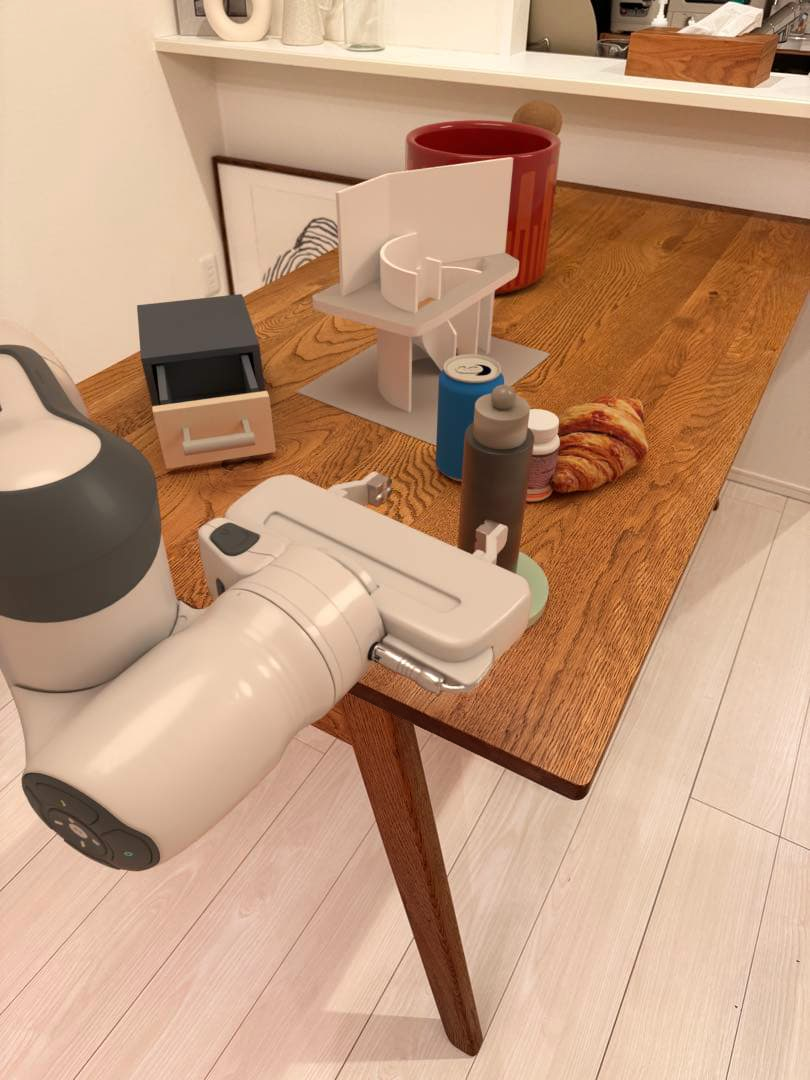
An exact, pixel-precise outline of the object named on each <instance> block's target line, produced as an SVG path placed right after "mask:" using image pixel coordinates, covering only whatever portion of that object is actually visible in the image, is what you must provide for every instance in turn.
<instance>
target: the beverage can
mask: <svg viewBox="0 0 810 1080" xmlns="http://www.w3.org/2000/svg"><path fill="white" fill-rule="evenodd" d="M499 385H504V377H503V375H502V373H501V366H500V364H499V363H498V362H497V361H495V360H494V359H492V358H489V357H486V356H483V355H476V354H465V355H458V356H455V357H452V358H450V359H448V360H447V361H446V362H445V363H444V369H443V370H442V372H441V373H440V375H439V386H438V413H437V440H436V446H435V465H436V468H437V469H438V471H439V472H441V474H443V475H444V476H447V478H449V479H451V480H453V481H457V482H461V483H462V469H463V454H464V439H465V431H466V429H467V428H468V426H470V425H471V424H472V423H474V412H475V403H476V401H477V400H478V399H479V398H480V397H482V396H484V395H486V394H490V393H492V391H493V390H494V389H495V388H496V387H497V386H499Z"/></svg>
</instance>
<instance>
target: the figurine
mask: <svg viewBox="0 0 810 1080" xmlns="http://www.w3.org/2000/svg"><path fill="white" fill-rule="evenodd" d="M512 116H513V117H512V119H511V122H512V123H520V124H526V125H531V126H535V127H539V128H542V129H545V130H548V131H550V132H552V133H554V134H555V135H557V136H558V135H559V134H560V133H561V131H562V126H563V116H562V114H561V112H560V110H559V108H557V107H556V106H555V104H552V103H550V102H548V101H545V100H542V99H536V100H531V101H530V102H527V103H524V104H522V105H521V106H520V107H519V108H517V110H515V113H514V114H513V115H512Z"/></svg>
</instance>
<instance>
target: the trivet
mask: <svg viewBox="0 0 810 1080" xmlns="http://www.w3.org/2000/svg"><path fill="white" fill-rule="evenodd" d="M453 546H454V547H456V548H457V545H453ZM516 574H517V575H519V576H522V577H523V578H525V579H526V580H527V581H528V584H529V587H530V591H531V595H532V605H531V612H530V617H529V621H528V624H527V627H526V630H528V629H529V628H531V627H532V626H534V625H535V624H536V623H538V621H539V620H540V619H541V618H542V616H543V614H544V613H545V610H546V609H547V605H548V598H549V594H550V593H549V592H550V586H549V581H548V578H547V575H546V574H545V572H544V570H543V568H541V566H540V565H539V564H538V563H537V561H535V560H534V559H533V558H531V557H530V556H529V555H527V554H526V553H524V552H522V551H520V550H519V557H518V564H517V571H516Z"/></svg>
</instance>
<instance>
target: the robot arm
mask: <svg viewBox="0 0 810 1080" xmlns="http://www.w3.org/2000/svg"><path fill="white" fill-rule="evenodd" d="M156 477H157V476H156V474H155V470H154V468H153V467H152V465H151V463H150V461H149V460H148V459H147V457H146V456H145V455H144V453H142V452H141V451H140V450H139V449H138V448H137V447H136V446H134V445H133V444H132V443H131V442H129V441H127V439H125V438H123V437H121V436H119V435H118V434H116V433H114V432H113V431H111V430H109V429H107V428H105V427H104V426H102V425H100V424H98V423H97V422H94V420H92V419H90V416H89V412H88V409H87V407H86V404H85V401H84V399H83V397H82V394H81V393H80V391H79V389H78V387H77V385H76V383H75V381H74V379H73V378H72V377H71V375H70V373H69V372H68V371H67V369H66V367H65V366H64V364H63V363H62V362H61V361H60V359H59V358H58V357H57V356H56V354H55V353H53V351H52V350H51V348H49V347H48V345H46V344H45V343H44V342H43V341H42V339H40V338H39V337H38V336H37V335H35V334H34V333H33V332H32V331H30V330H29V329H27V328H26V327H24V326H23V325H21V324H19V323H17V322H15V321H13V320H10V319H8V318H5V317H1V316H0V672H1V674H2V676H3V678H4V680H5V682H6V684H7V686H8V689H9V691H10V694H11V698H12V699H13V703H14V705H15V708H16V711H17V713H18V718H19V721H20V725H21V729H22V734H23V741H24V747H25V748H24V752H25V753H24V754H25V766H24V769H23V771H22V774H21V789H22V791H23V794H24V797H26V800H27V802H28V804H29V805H30V807H31V809H32V810H33V811H34V813H35V814H36V815H37V817H38V818H39V819H40V820H41V821H42V822H43V823H44V824H45V825H46V826H47V827H48V828H49V829H50V830H52V831H53V832H55V833H56V834H57V835H58V836H59V837H60V838H61V839H63V842H64V843H66V844H67V845H68V846H70V848H72V849H74V850H75V851H77V852H78V853H79V854H81V855H83V856H84V857H86V858H88V859H89V860H92V861H93V862H96V863H97V864H100V865H103V866H105V867H108V868H110V869H113V870H117V871H121V870H122V871H128V872H129V871H130V872H142V871H143V872H144V871H148V870H151V869H153V868H156V867H158V866H160V865H163V864H165V863H166V862H168V861H170V860H171V859H174V858H175V857H176V856H178V855H180V854H182V852H184V851H186V850H187V849H188V848H189V847H191V846H192V845H194V844H195V843H196V842H197V841H199V840H200V839H201V838H202V837H204V836H205V835H206V834H207V833H209V832H210V831H211V830H212V829H213V828H215V826H216V825H218V824H219V823H220V822H221V821H222V820H223V819H225V817H227V816H228V815H229V814H230V813H231V812H232V811H233V810H234V809H235V808H236V807H237V806H238V805H239V804H240V803H242V802H243V800H244V799H245V798H247V796H249V794H251V793H252V791H253V790H254V789H255V788H257V786H259V785H260V784H261V782H262V781H263V780H264V779H266V778H267V776H268V775H269V774H270V773H272V771H273V770H275V768H276V767H277V766H278V764H279V763H280V761H281V759H282V757H283V756H284V754H285V752H286V750H287V748H288V746H289V745H290V743H291V742H292V741H293V739H294V738H295V737H296V736H297V735H298V734H299V733H300V732H301V731H302V730H304V729H305V728H308V726H311V725H312V724H314V723H315V722H318V721H319V720H321V719H322V718H324V717H325V716H326V715H327V714H328V713H329V712H330V711H331V710H332V709H333V708H334V707H335V706H336V704H337V703H338V702H340V701H341V699H343V697H344V696H346V695H347V693H348V692H349V691H350V690H351V689H352V688H353V687H354V686H355V685H356V684H357V683H358V682H359V681H360V680H361V679H362V678H363V677H364V676H365V675H366V674H367V672H369V670H370V669H371V668H372V667H374V666H375V664H378V665H379V666H382V667H383V668H385V669H386V670H389V671H391V672H392V673H394V674H396V675H400V676H402V677H405V678H407V679H409V680H411V681H412V682H413V683H416V685H417V686H418V687H420V688H421V689H423V690H425V691H427V692H429V693H431V694H435V695H440V694H441V693H442V692H444V693H450V694H462V693H466V694H468V693H471V692H473V691H474V690H476V689H477V688H478V687H479V685H480V684H481V683H482V682H483V681H484V679H485V678H486V677H487V676H488V675H489V673H490V672H491V671H492V669H493V668H494V665H495V662H496V661H498V659H500V658H501V657H502V656H503V655H504V654H506V652H507V651H508V650H510V648H511V647H512V646H513V645H514V644H515V643H516V642H517V641H518V640H519V639H520V638H521V637H522V635H523V634H524V633H525V631H526V630H527V629H526V627H527V624H528V621H529V617H530V612H531V605H532V595H531V591H530V587H529V584H528V581H527V580H526V579H525V578H523V577H522V576H519V575H517V574H515V573H513V572H510V571H508V570H506V569H504V568H501V567H499V566H497V565H496V560H497V554H498V553H499V552H500V551H501V550H502V549H503V547H504V546H505V543H506V541H507V533H508V527H507V526H505V525H502V524H500V523H497V522H495V521H492V520H490V519H486V520H485V522H484V524H482V525H480V526H479V527H478V528H477V529H476V535H475V538H476V540H477V541H476V542H475V547H474V550H475V552H474V553H473V554H470V553H468V552H465V551H463V550H461V549H459V548H456V547H454V546H455V545H451V544H450V543H448V542H445V541H443V540H440V539H438V538H436V537H434V536H432V535H429V534H427V533H425V532H423V531H420V530H418V529H416V528H413V527H411V526H409V525H407V524H405V523H403V522H401V521H398V520H396V519H393V518H391V517H389V516H386V515H385V514H382V513H380V512H377V511H375V510H374V509H371V508H368V507H366V506H367V505H369V506H373V507H375V508H380V507H381V505H383V504H384V502H385V501H388V500H389V499H390V498H391V495H392V493H393V487H392V484H393V479H392V478H391V477H389V476H387V475H385V474H382V473H379V472H377V471H375V470H374V471H371V472H370V473H368V475H366V476H365V477H363V478H362V479H361V480H359V479H358V480H357V479H356V480H352V481H347V482H342V483H337V484H336V483H335V484H333V485H331V486H330V487H329V488H327V489H326V488H323V487H321V486H319V485H317V484H315V483H313V482H310V481H308V480H306V479H303V478H301V477H299V476H298V475H295V474H292V473H290V474H289V473H288V474H280V475H274V476H271V477H269V478H266V479H265V480H263V481H262V482H260V483H259V484H257V485H256V486H254V487H253V488H251V489H250V490H248V491H247V492H246V493H244V494H243V495H242V496H240V497H239V498H238V499H236V500H235V501H234V502H233V503H232V504H231V505H230V506H229V507H228V508H227V510H226V511H225V513H224V516H223V517H221V516H219V517H216V518H212V519H210V520H209V521H207V522H205V523H204V524H202V525H201V527H200V528H198V530H197V539H198V549H199V554H200V555H199V556H200V560H201V561H200V562H201V565H202V570H203V574H204V579H205V582H206V586H207V589H208V592H209V595H210V599H211V602H212V603H210V604H209V605H207V606H206V607H204V608H193V607H191V606H190V605H188V604H187V603H185V602H183V601H182V600H179V599H178V597H177V595H176V594H177V593H176V590H175V586H174V580H173V577H172V572H171V568H170V563H169V559H168V554H167V550H166V545H165V541H164V537H163V532H162V516H161V508H160V501H159V493H158V485H157V478H156Z"/></svg>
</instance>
